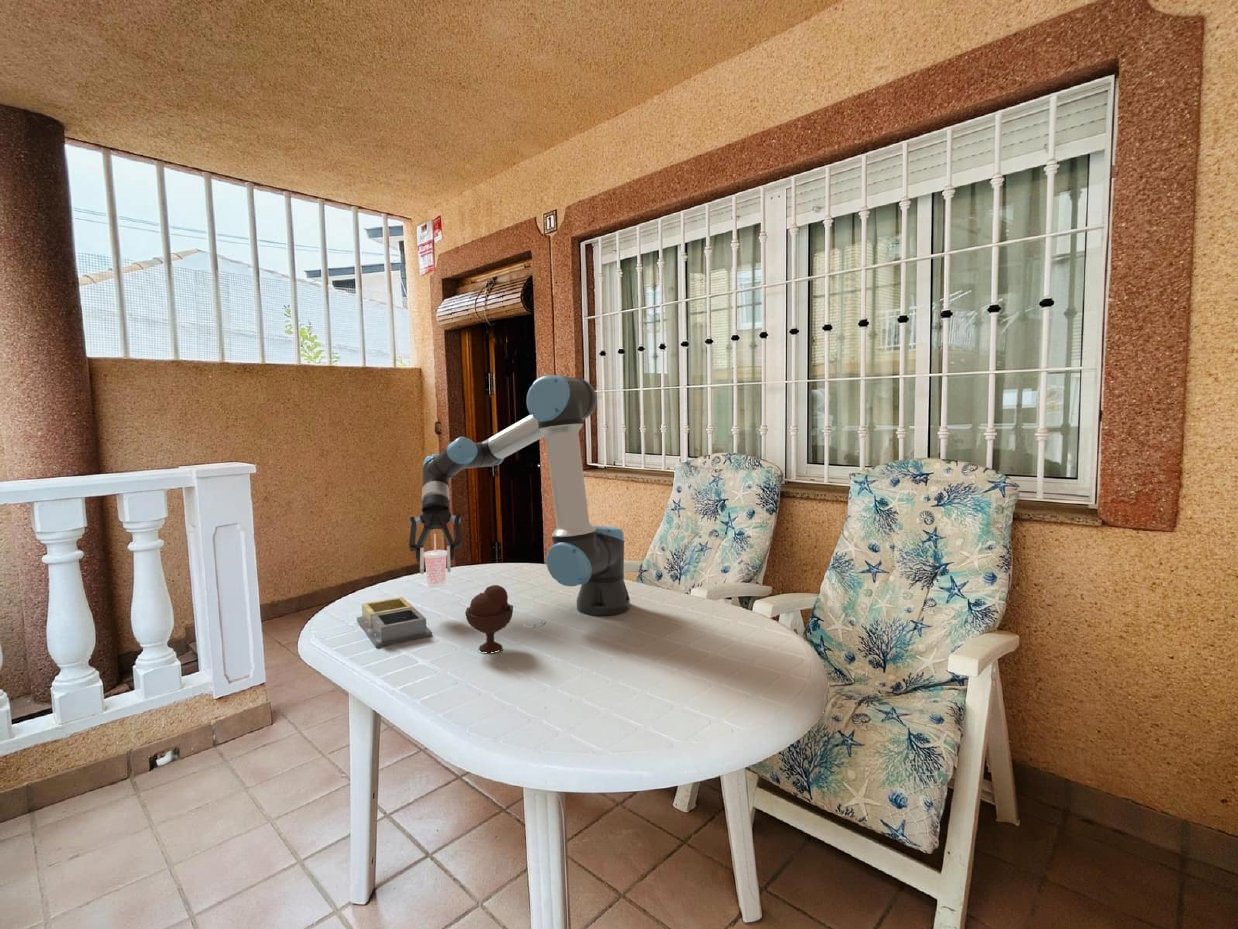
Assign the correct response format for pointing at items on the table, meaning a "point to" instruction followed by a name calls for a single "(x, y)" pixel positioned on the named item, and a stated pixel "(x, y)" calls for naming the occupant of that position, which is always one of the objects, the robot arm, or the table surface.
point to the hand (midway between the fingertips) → (435, 570)
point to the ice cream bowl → (490, 615)
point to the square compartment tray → (392, 622)
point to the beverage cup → (435, 566)
